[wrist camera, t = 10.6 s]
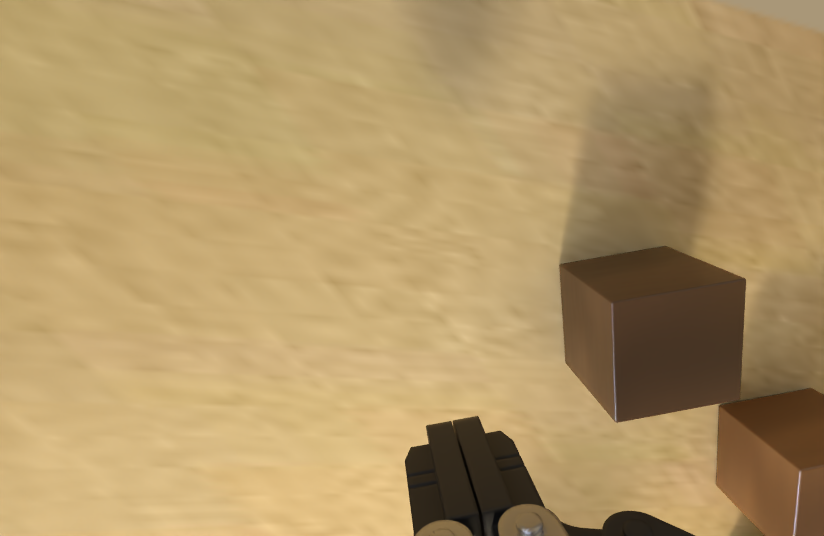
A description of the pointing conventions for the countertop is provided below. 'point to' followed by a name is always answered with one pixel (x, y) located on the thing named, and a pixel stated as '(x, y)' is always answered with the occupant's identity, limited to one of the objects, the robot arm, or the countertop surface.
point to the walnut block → (653, 331)
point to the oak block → (775, 461)
